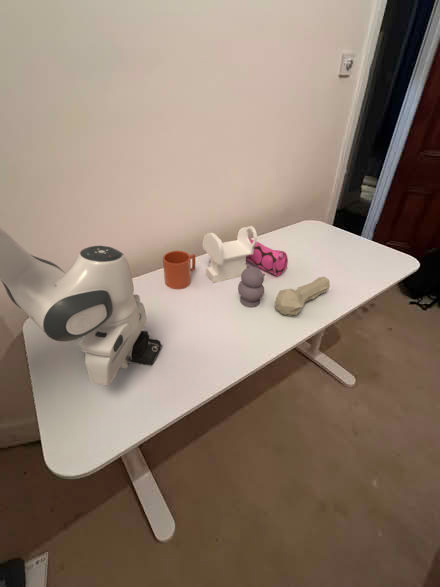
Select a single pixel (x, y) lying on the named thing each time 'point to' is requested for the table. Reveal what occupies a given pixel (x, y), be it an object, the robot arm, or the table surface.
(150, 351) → the film camera
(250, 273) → the cat figurine
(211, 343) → the table surface
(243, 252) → the tape dispenser
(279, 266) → the pencil case
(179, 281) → the mug
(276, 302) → the faceted club
